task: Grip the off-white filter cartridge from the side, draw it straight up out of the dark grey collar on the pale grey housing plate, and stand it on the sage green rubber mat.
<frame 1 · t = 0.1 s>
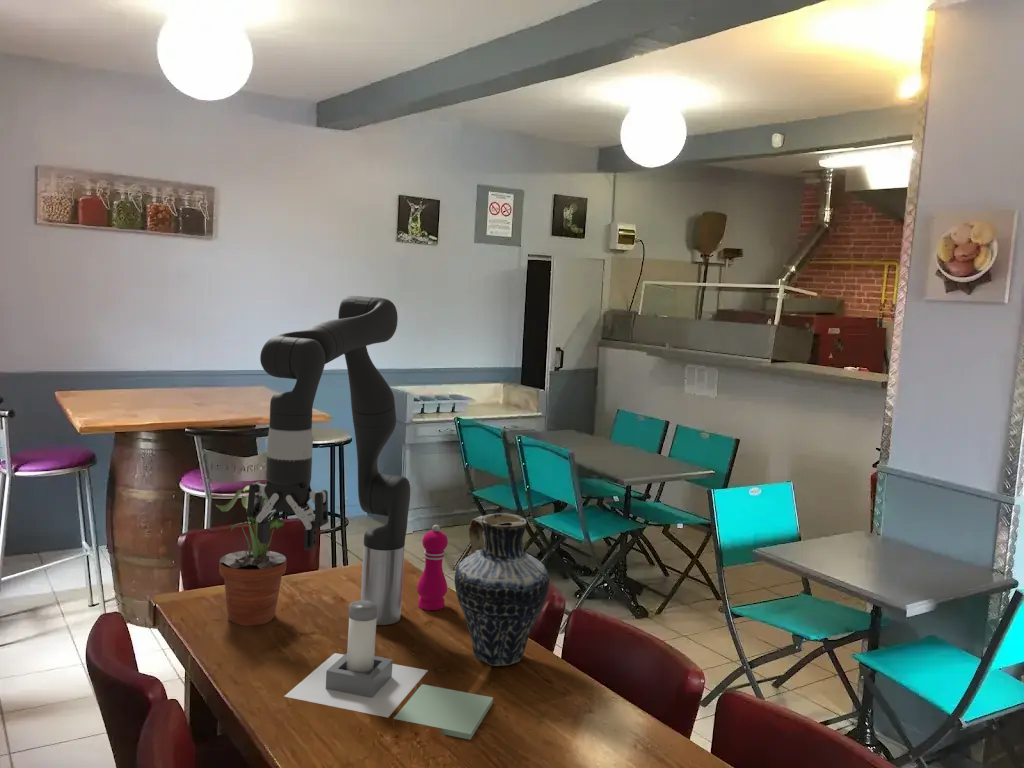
hand: (286, 545, 145), 29 cm above the table, tool pointing down, fingers open, 8 cm apart
mat: (444, 713, 150), on the table
jug: (494, 658, 175), on the table
potted plant: (248, 616, 188), on the table
housing: (359, 687, 157), on the table
cartridge: (359, 682, 157), point 1 cm above the table, touching housing
pepper mill: (431, 606, 201), on the table
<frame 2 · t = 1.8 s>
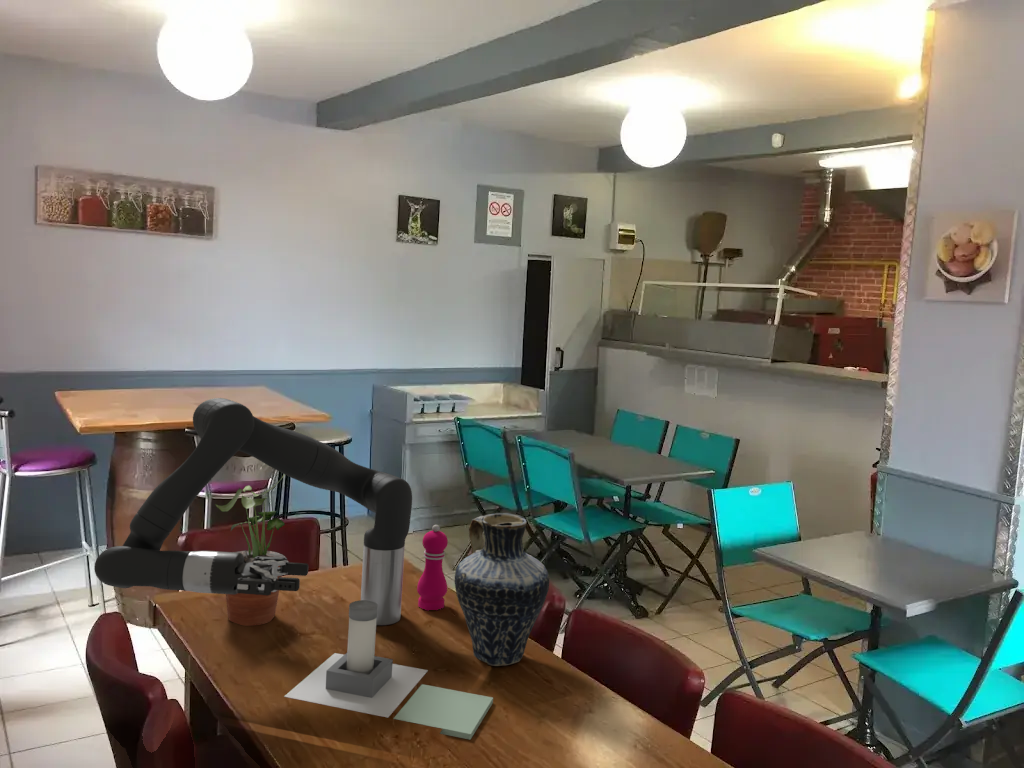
hand: (303, 576, 154), 21 cm above the table, tool horizontal, fingers open, 8 cm apart
nothing on the table moved.
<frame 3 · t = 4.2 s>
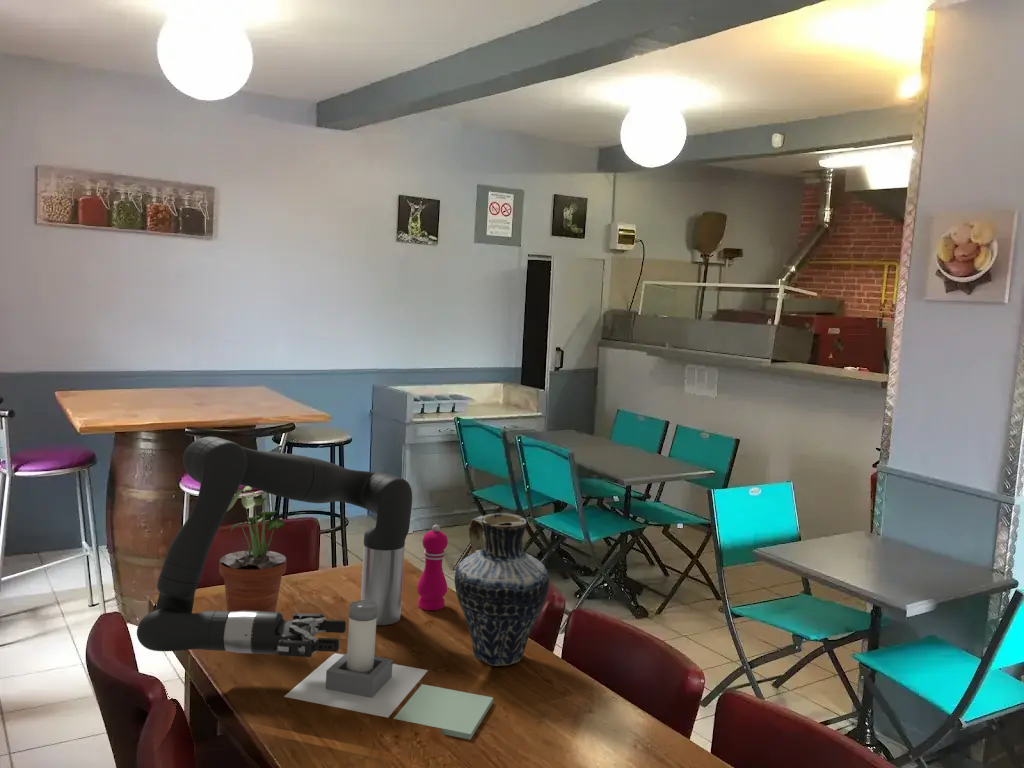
hand: (342, 635, 156), 10 cm above the table, tool horizontal, fingers open, 8 cm apart
nothing on the table moved.
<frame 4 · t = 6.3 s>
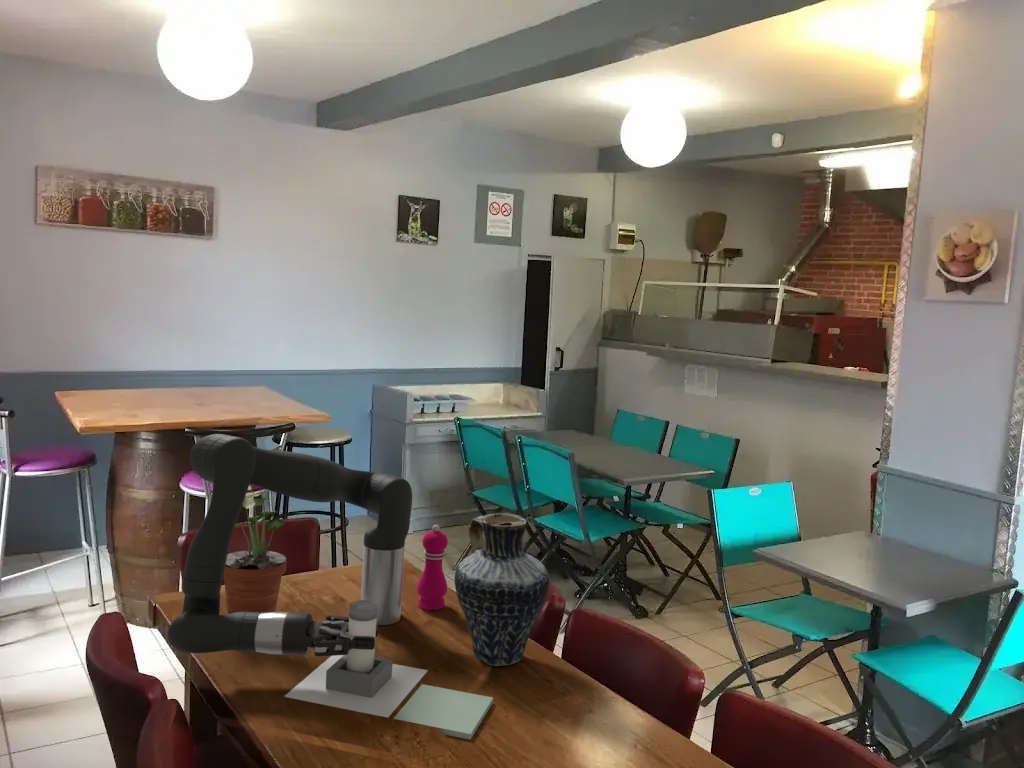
hand: (375, 637, 157), 10 cm above the table, tool horizontal, fingers closed on cartridge, 5 cm apart
cartridge: (359, 682, 157), point 1 cm above the table, touching gripper, housing
everything else where it was.
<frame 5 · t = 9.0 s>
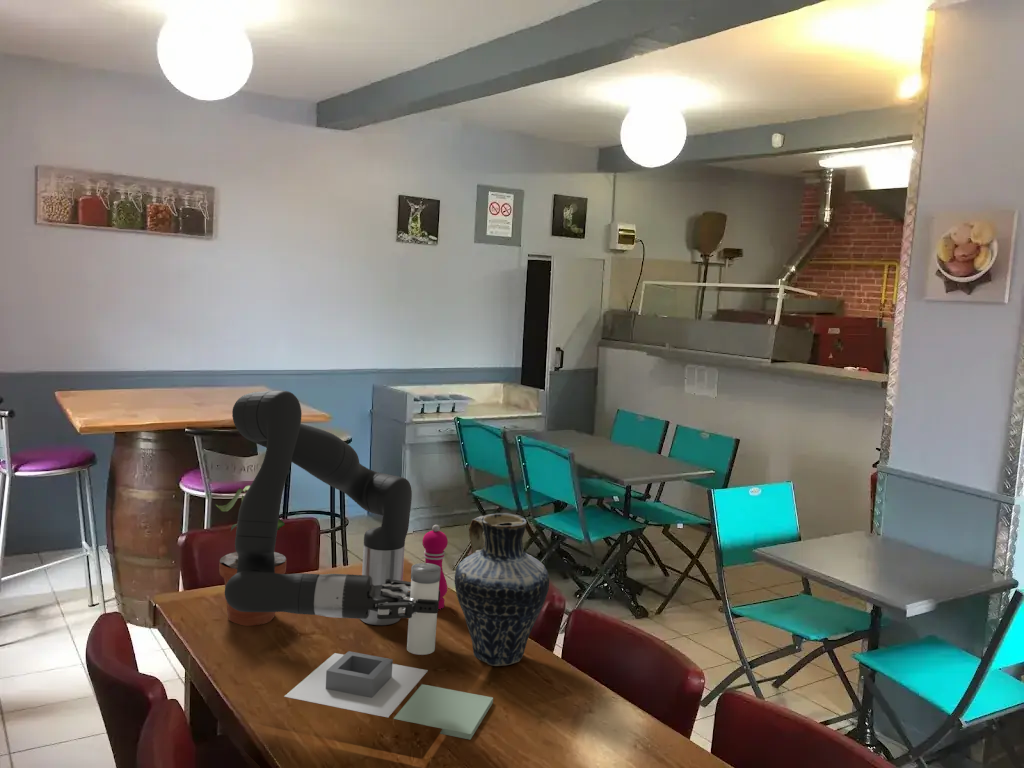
hand: (438, 601, 150), 20 cm above the table, tool horizontal, fingers closed on cartridge, 5 cm apart
cartridge: (420, 648, 151), point 11 cm above the table, touching gripper
everything else where it was.
when the fingers open (11 cm above the table, at t = 12.0 s): cartridge drops 1 cm, resting on mat.
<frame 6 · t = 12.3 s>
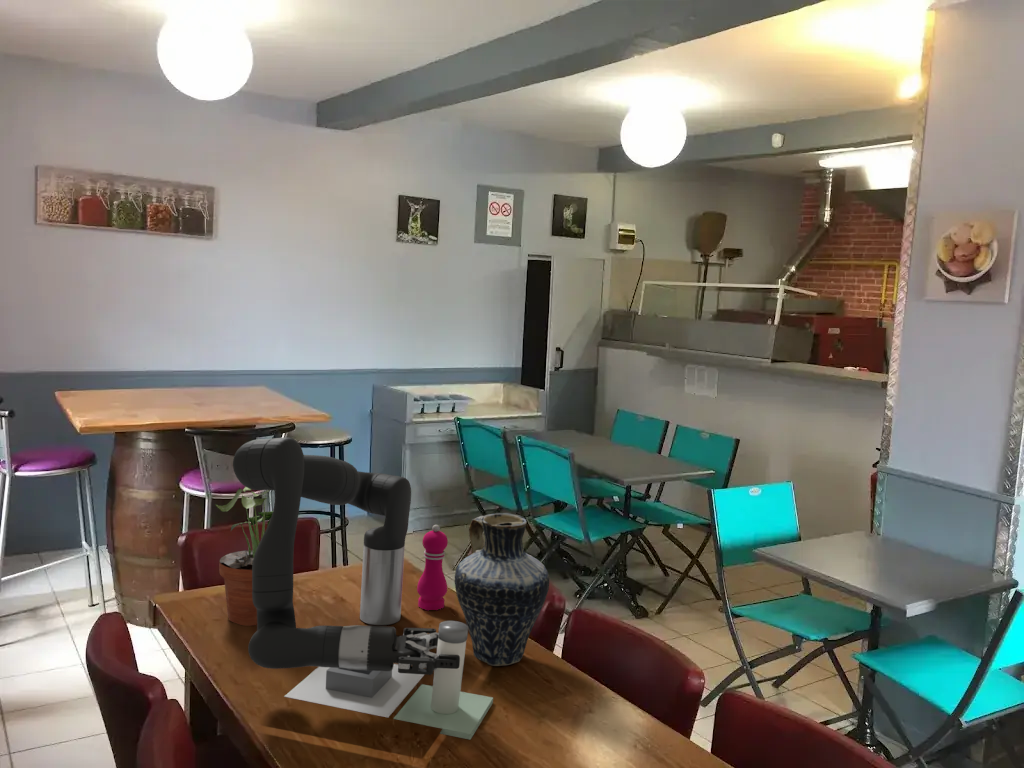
hand: (459, 651, 149), 12 cm above the table, tool horizontal, fingers open, 8 cm apart
cartridge: (444, 707, 150), point 1 cm above the table, touching mat
everything else where it was.
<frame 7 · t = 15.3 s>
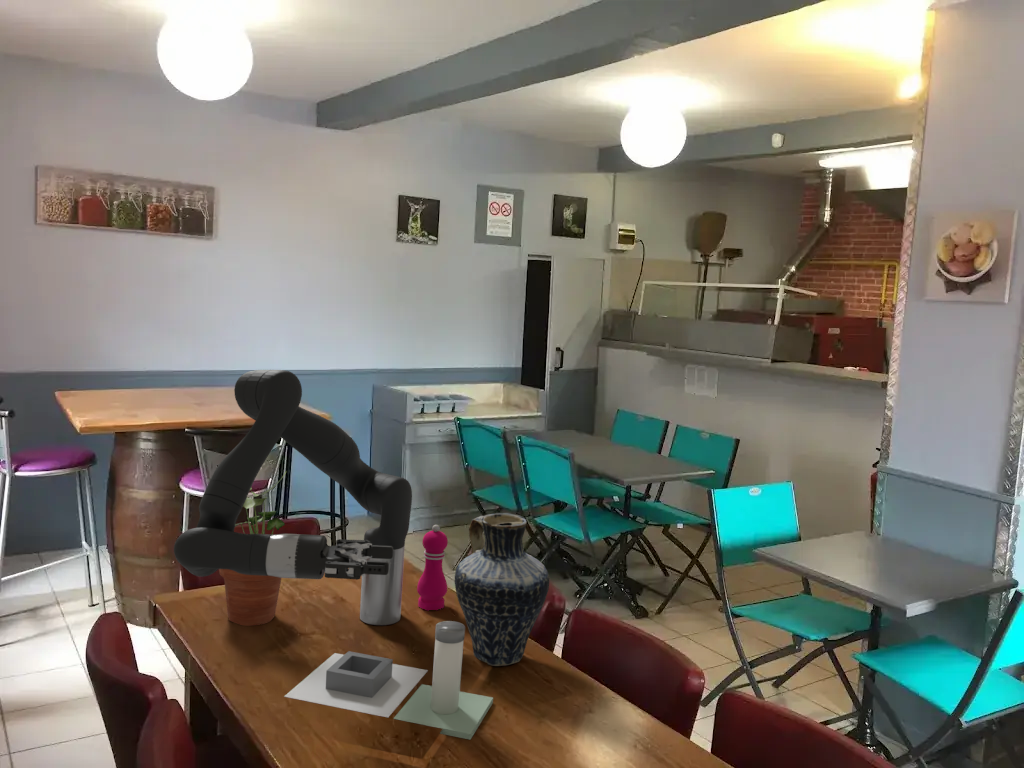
hand: (390, 560, 147), 28 cm above the table, tool horizontal, fingers open, 8 cm apart
nothing on the table moved.
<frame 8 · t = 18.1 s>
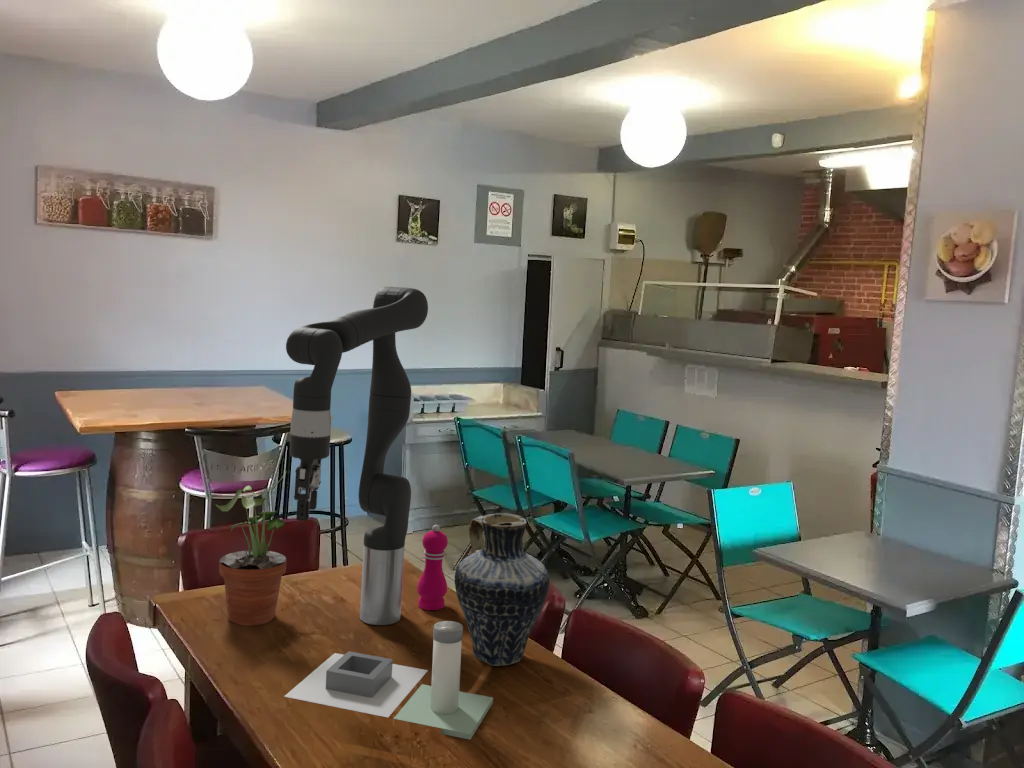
hand: (306, 514, 163), 30 cm above the table, tool pointing down, fingers open, 8 cm apart
nothing on the table moved.
at the end: cartridge inside the target area on the mat (0.1 cm from its centre), point 1.0 cm above the mat's base; cartridge tilted 1°; the gripper is holding nothing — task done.
